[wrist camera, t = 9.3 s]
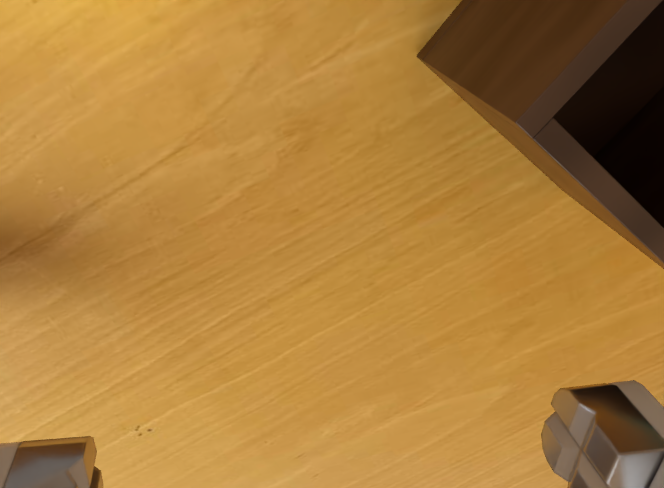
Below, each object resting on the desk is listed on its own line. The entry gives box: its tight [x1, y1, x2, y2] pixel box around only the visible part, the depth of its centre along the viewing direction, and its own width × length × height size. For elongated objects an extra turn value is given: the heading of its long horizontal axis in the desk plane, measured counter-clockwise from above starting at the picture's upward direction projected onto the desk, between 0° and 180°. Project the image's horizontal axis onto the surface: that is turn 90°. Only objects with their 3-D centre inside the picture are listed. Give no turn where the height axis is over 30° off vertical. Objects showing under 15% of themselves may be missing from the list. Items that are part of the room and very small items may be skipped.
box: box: [417, 0, 664, 269], centre depth 25 cm, size 13×13×11 cm
